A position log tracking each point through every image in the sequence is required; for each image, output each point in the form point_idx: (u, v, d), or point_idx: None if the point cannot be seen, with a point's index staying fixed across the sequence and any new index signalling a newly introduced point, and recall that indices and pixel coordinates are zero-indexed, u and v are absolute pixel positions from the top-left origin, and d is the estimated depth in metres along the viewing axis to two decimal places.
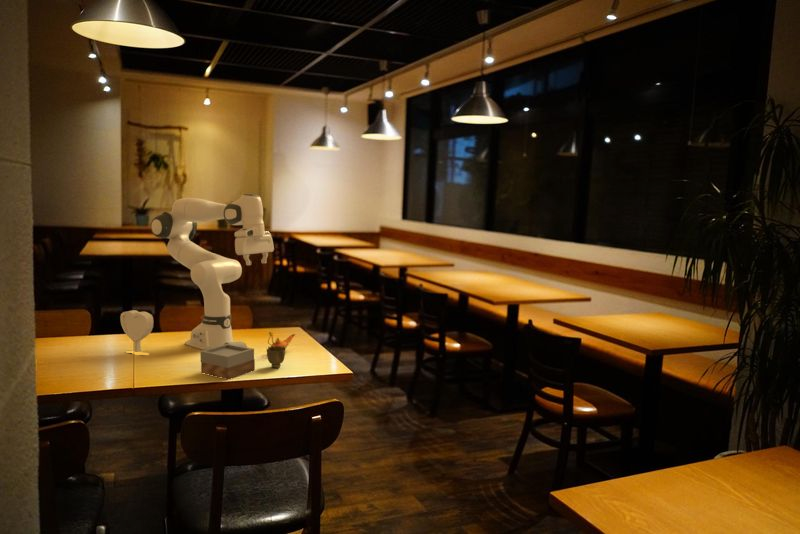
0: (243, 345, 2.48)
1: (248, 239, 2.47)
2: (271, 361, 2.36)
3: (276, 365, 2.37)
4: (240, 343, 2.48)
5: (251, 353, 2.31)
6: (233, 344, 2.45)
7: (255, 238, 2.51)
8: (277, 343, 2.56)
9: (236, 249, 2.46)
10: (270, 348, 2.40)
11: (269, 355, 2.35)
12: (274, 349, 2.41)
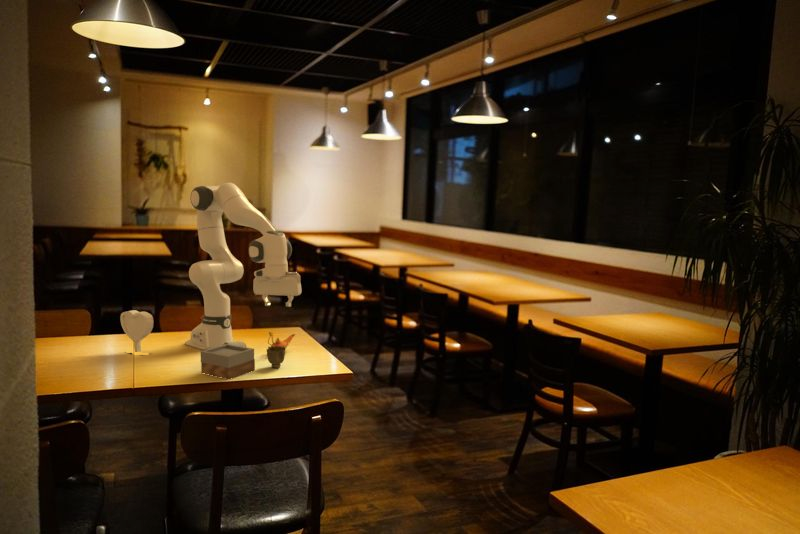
0: (243, 345, 2.48)
1: (260, 279, 2.37)
2: (271, 361, 2.36)
3: (276, 365, 2.37)
4: (240, 343, 2.48)
5: (251, 353, 2.31)
6: (233, 344, 2.46)
7: (269, 279, 2.35)
8: (277, 343, 2.56)
9: None
10: (270, 348, 2.40)
11: (269, 355, 2.35)
12: (274, 349, 2.41)
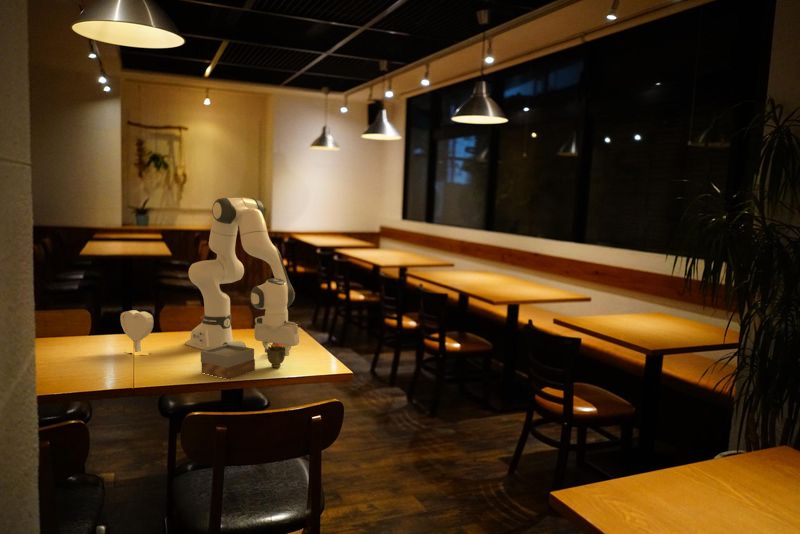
0: (242, 345, 2.48)
1: (260, 326, 2.37)
2: (271, 361, 2.36)
3: (276, 365, 2.37)
4: (239, 343, 2.48)
5: (251, 353, 2.32)
6: (232, 344, 2.46)
7: (268, 327, 2.35)
8: None
9: None
10: (270, 348, 2.40)
11: (269, 355, 2.35)
12: (274, 349, 2.41)
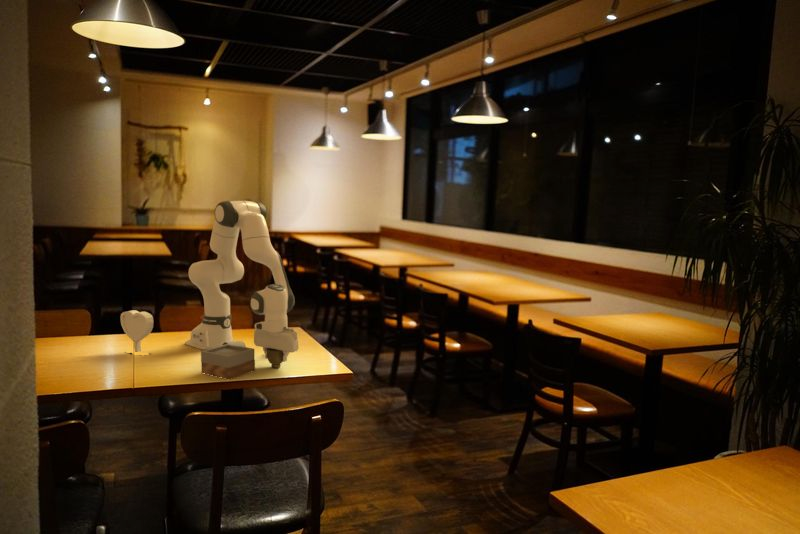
0: (242, 345, 2.49)
1: (260, 332, 2.38)
2: (271, 361, 2.36)
3: (276, 365, 2.37)
4: (239, 343, 2.48)
5: (251, 353, 2.32)
6: (232, 344, 2.46)
7: (268, 333, 2.36)
8: None
9: None
10: (270, 348, 2.40)
11: (269, 355, 2.35)
12: (274, 349, 2.41)
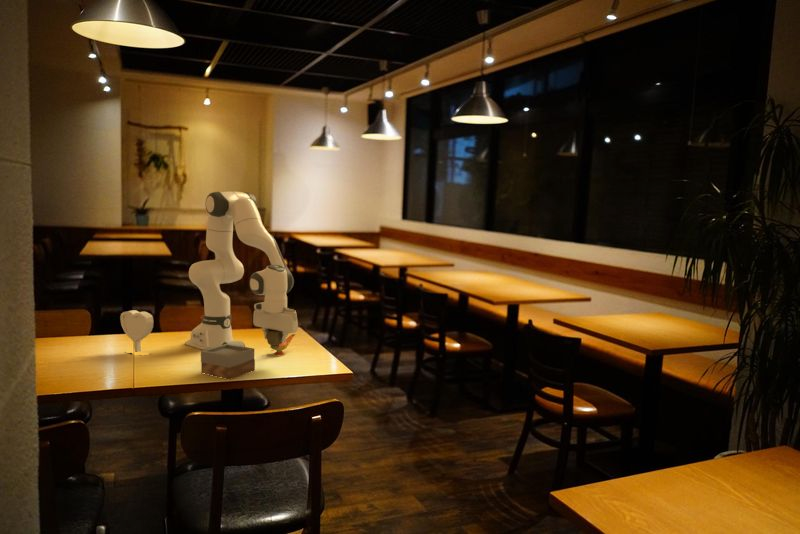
0: (241, 344, 2.49)
1: (259, 312, 2.37)
2: (270, 342, 2.35)
3: (275, 346, 2.36)
4: (238, 342, 2.49)
5: (251, 353, 2.32)
6: (231, 343, 2.46)
7: (267, 313, 2.35)
8: None
9: None
10: (269, 329, 2.39)
11: (268, 336, 2.35)
12: (273, 330, 2.40)
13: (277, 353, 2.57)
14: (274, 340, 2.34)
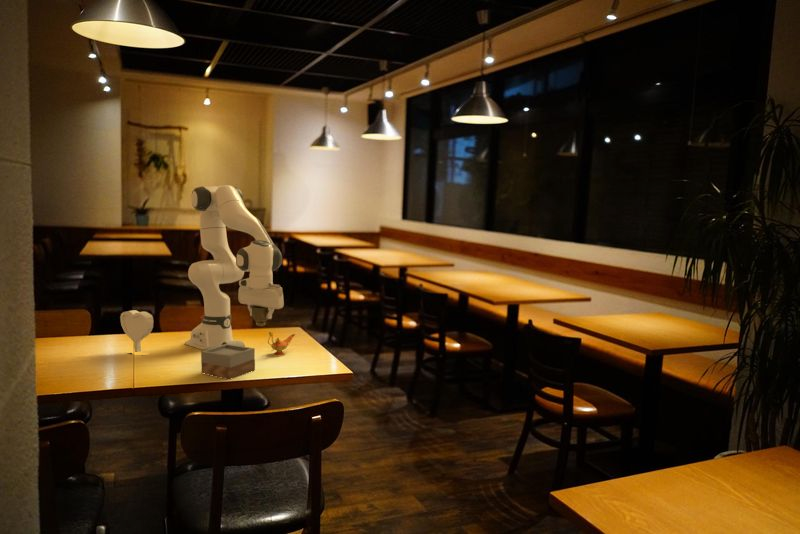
0: (241, 344, 2.49)
1: (244, 289, 2.33)
2: (256, 318, 2.31)
3: (261, 323, 2.33)
4: (238, 342, 2.49)
5: (252, 353, 2.32)
6: (231, 343, 2.46)
7: (252, 289, 2.31)
8: (277, 343, 2.56)
9: None
10: (255, 306, 2.36)
11: (254, 312, 2.31)
12: (259, 307, 2.37)
13: (277, 353, 2.57)
14: (260, 316, 2.31)
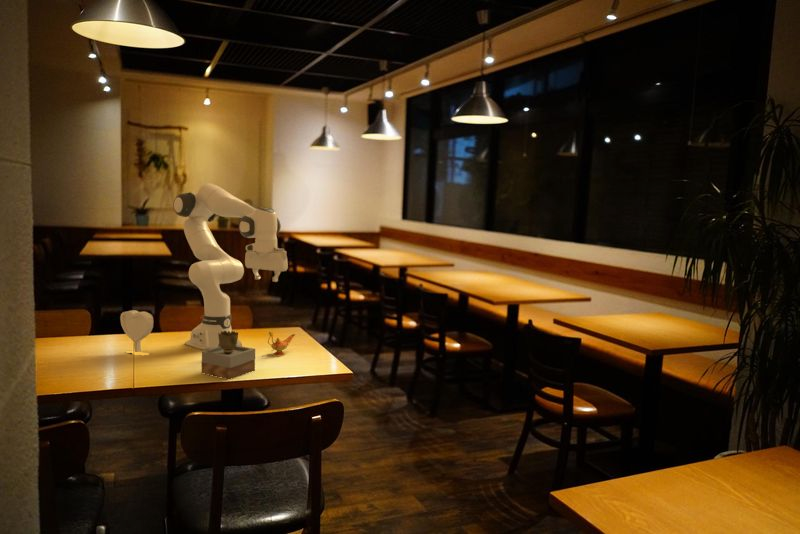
0: (238, 343, 2.51)
1: (251, 253, 2.47)
2: (222, 346, 2.27)
3: (228, 350, 2.28)
4: None
5: (252, 353, 2.31)
6: None
7: (258, 254, 2.45)
8: (277, 343, 2.56)
9: None
10: (223, 333, 2.31)
11: (220, 340, 2.27)
12: (227, 334, 2.32)
13: (277, 353, 2.57)
14: (226, 344, 2.26)
